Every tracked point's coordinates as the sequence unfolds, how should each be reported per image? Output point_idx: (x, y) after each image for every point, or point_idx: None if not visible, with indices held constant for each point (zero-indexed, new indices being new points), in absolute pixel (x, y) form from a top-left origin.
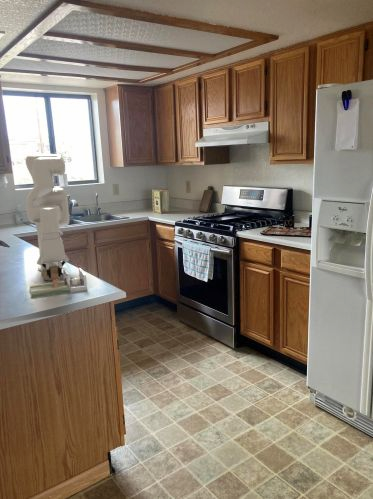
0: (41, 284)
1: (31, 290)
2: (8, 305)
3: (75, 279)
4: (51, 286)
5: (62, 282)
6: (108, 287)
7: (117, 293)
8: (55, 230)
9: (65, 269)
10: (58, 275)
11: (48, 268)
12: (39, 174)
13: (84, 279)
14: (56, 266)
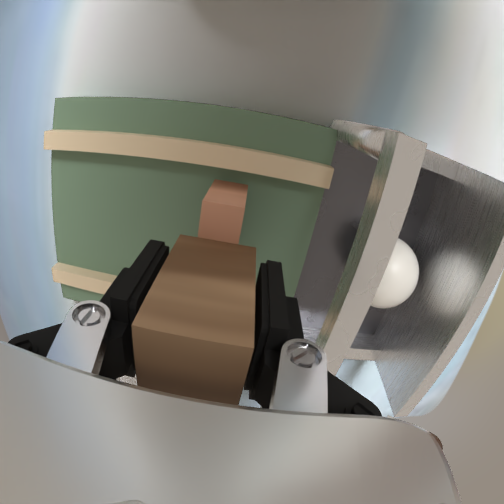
0: (119, 150)
1: (57, 219)
2: (8, 313)
3: (382, 305)
4: (194, 206)
5: (305, 183)
6: (461, 346)
7: (420, 414)
8: None
9: (381, 256)
10: (257, 280)
11: (116, 378)
12: None
13: (388, 394)
14: (226, 396)
